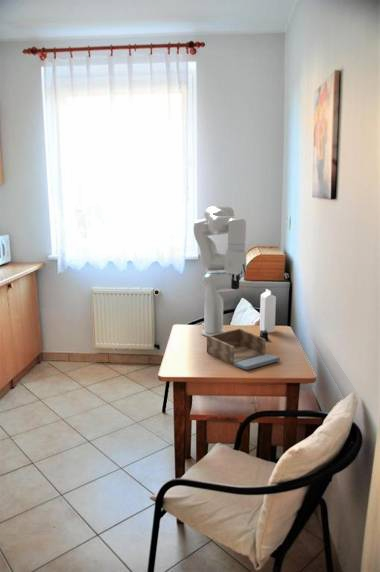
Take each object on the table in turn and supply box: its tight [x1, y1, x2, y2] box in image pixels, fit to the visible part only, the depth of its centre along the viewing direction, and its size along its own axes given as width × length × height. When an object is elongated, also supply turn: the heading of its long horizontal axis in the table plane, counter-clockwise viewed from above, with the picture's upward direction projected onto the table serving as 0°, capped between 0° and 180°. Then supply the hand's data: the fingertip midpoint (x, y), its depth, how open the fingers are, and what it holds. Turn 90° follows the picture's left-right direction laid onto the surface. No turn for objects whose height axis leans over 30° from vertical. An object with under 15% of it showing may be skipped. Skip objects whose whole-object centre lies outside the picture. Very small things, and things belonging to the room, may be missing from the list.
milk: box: [259, 288, 277, 333], centre depth 240 cm, size 6×6×22 cm
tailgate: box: [233, 353, 281, 371], centre depth 196 cm, size 1×19×8 cm
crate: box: [206, 328, 266, 365], centre depth 207 cm, size 18×19×8 cm
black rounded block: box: [258, 329, 273, 343], centre depth 228 cm, size 12×7×5 cm, turn 6°
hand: (235, 288), depth 203 cm, fingers closed
